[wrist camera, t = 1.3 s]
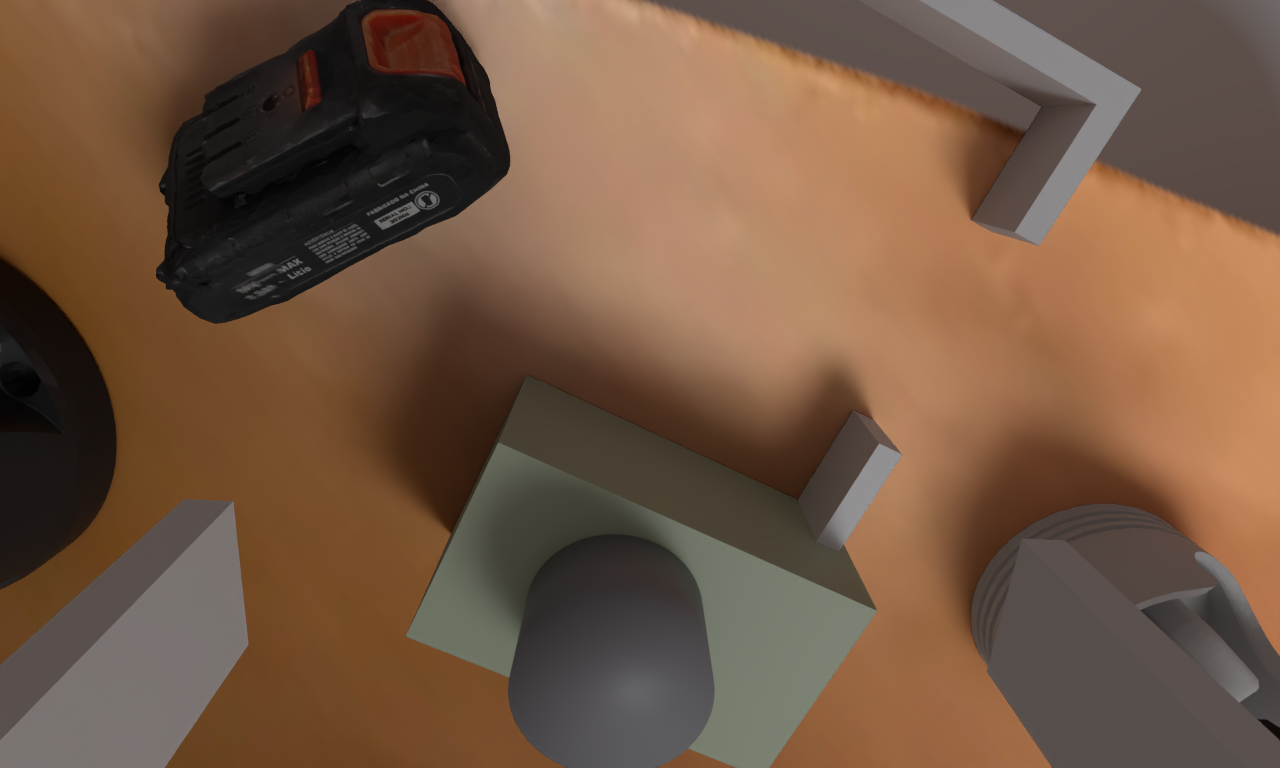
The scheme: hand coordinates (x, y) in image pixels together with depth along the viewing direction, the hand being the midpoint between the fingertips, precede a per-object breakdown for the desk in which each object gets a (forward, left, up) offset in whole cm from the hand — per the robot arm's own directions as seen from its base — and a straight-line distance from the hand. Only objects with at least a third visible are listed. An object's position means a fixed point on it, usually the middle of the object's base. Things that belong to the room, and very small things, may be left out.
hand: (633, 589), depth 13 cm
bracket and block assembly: (+4, +2, -18) cm, 19 cm away
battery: (-12, +1, -19) cm, 22 cm away
